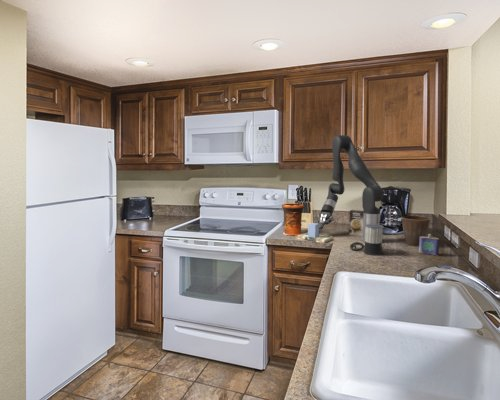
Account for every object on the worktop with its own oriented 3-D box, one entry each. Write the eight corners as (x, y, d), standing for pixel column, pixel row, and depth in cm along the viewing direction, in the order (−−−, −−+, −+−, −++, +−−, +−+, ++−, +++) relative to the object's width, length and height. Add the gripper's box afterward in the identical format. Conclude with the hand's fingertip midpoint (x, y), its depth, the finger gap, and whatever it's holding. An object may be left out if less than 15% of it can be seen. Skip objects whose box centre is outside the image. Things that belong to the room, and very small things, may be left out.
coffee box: (348, 234, 229) (349, 210, 227) (350, 233, 234) (351, 209, 233) (362, 236, 224) (363, 211, 223) (364, 234, 230) (365, 210, 228)
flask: (418, 253, 182) (419, 233, 181) (419, 252, 184) (420, 232, 183) (438, 256, 177) (439, 235, 175) (438, 255, 179) (440, 234, 178)
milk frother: (383, 256, 177) (385, 227, 175) (352, 254, 180) (353, 226, 178) (378, 249, 191) (379, 222, 189) (349, 247, 194) (350, 221, 192)
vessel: (281, 235, 225) (281, 205, 223) (281, 231, 239) (282, 202, 238) (303, 236, 224) (304, 205, 222) (302, 232, 238) (303, 203, 236)
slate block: (318, 236, 214) (319, 223, 213) (315, 237, 210) (315, 224, 209) (311, 235, 217) (311, 222, 216) (307, 236, 213) (308, 223, 212)
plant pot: (425, 249, 191) (427, 220, 189) (397, 245, 200) (398, 218, 198) (430, 244, 203) (432, 217, 201) (403, 240, 212) (404, 214, 210)
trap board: (332, 239, 214) (332, 236, 214) (324, 243, 205) (324, 239, 205) (306, 235, 225) (306, 232, 225) (297, 238, 216) (297, 235, 216)
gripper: (317, 203, 229) (308, 224, 221) (336, 204, 221) (327, 226, 213) (321, 210, 234) (312, 230, 225) (339, 211, 226) (331, 233, 217)
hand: (319, 228), depth 219 cm, fingers closed
